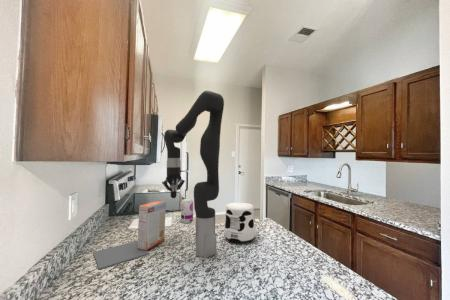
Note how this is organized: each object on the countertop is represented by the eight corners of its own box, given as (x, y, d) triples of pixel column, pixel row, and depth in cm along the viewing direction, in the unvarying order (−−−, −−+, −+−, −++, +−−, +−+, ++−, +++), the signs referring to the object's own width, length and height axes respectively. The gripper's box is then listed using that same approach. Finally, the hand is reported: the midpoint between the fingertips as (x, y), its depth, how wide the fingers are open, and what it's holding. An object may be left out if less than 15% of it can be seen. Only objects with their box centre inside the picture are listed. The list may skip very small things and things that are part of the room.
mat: (149, 254, 94) (149, 253, 94) (99, 269, 82) (99, 268, 82) (137, 241, 108) (137, 240, 108) (93, 253, 96) (93, 251, 96)
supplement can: (195, 220, 143) (195, 198, 144) (190, 224, 135) (190, 201, 136) (184, 219, 146) (184, 198, 146) (178, 223, 138) (179, 200, 138)
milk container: (248, 231, 123) (248, 201, 124) (260, 243, 107) (260, 208, 107) (220, 233, 119) (220, 202, 119) (229, 246, 102) (229, 210, 103)
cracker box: (155, 238, 112) (157, 200, 113) (164, 240, 109) (166, 201, 111) (136, 248, 98) (138, 204, 100) (146, 251, 96) (148, 206, 97)
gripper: (164, 167, 105) (164, 200, 105) (187, 166, 114) (187, 197, 113) (159, 166, 111) (159, 198, 111) (181, 165, 119) (181, 195, 119)
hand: (173, 197), depth 112 cm, fingers closed
